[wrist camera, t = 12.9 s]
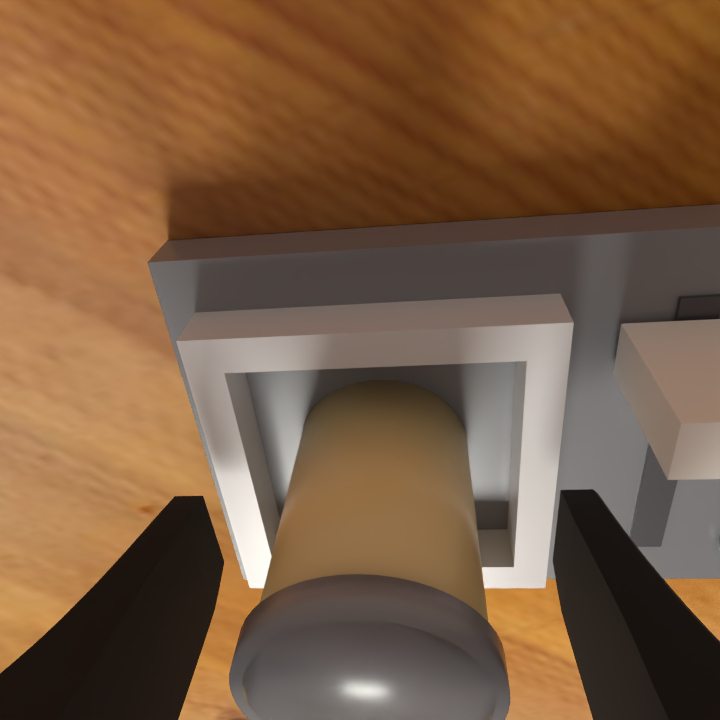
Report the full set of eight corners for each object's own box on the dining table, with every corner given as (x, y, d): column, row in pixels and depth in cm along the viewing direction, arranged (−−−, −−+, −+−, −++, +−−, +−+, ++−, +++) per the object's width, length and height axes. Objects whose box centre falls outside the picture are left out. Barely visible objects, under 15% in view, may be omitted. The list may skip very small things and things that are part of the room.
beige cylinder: (477, 369, 13) (517, 611, 8) (474, 512, 15) (504, 772, 10) (280, 375, 14) (201, 608, 9) (305, 513, 16) (255, 762, 11)
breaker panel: (852, 195, 12) (943, 240, 10) (732, 543, 17) (775, 619, 15) (167, 240, 13) (124, 288, 11) (252, 546, 19) (233, 615, 17)
